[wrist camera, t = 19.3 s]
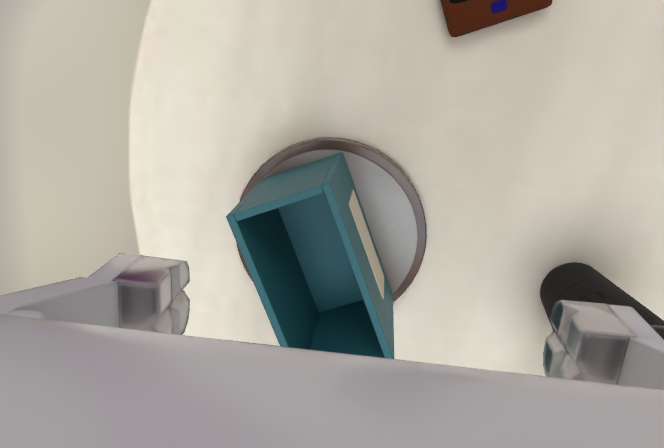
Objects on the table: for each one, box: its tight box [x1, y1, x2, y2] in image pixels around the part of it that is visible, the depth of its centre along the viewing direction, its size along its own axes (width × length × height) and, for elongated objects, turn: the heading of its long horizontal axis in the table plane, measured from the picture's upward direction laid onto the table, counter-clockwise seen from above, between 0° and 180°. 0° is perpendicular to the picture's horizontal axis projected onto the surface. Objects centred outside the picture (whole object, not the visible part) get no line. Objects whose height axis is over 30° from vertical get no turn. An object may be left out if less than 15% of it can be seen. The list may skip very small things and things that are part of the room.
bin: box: [226, 152, 394, 359], centre depth 39 cm, size 7×12×10 cm, turn 20°
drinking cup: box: [540, 263, 664, 340], centre depth 35 cm, size 8×8×20 cm
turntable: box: [237, 138, 426, 302], centre depth 44 cm, size 15×15×2 cm
